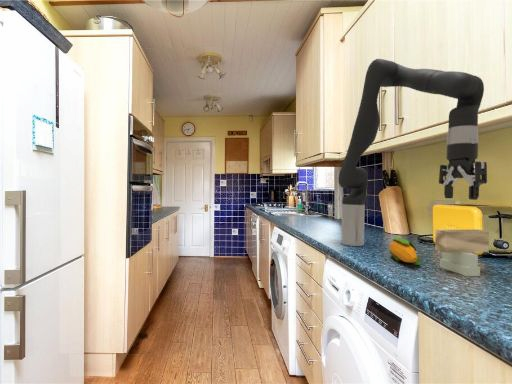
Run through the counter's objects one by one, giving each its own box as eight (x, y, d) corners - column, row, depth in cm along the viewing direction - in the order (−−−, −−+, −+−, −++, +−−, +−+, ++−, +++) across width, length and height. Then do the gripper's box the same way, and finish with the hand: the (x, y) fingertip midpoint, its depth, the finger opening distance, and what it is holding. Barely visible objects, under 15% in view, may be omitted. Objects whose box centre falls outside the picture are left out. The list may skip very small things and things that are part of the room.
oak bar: (435, 249, 88) (435, 229, 88) (476, 249, 90) (476, 229, 90) (445, 252, 84) (446, 231, 84) (488, 251, 86) (489, 231, 86)
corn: (407, 234, 106) (428, 244, 87) (408, 256, 106) (430, 270, 87) (385, 235, 108) (401, 245, 88) (386, 256, 108) (402, 270, 88)
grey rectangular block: (439, 266, 92) (439, 247, 92) (451, 266, 92) (451, 247, 92) (467, 276, 82) (467, 254, 82) (479, 276, 82) (480, 254, 82)
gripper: (432, 146, 93) (431, 197, 93) (472, 139, 79) (470, 199, 79) (453, 147, 94) (452, 198, 94) (496, 140, 80) (494, 200, 80)
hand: (460, 198), depth 87 cm, fingers open, 8 cm apart
